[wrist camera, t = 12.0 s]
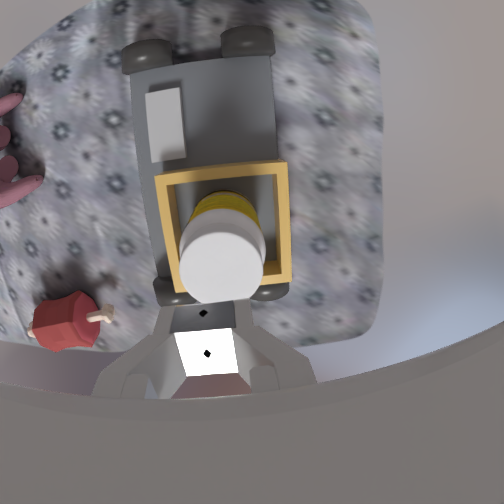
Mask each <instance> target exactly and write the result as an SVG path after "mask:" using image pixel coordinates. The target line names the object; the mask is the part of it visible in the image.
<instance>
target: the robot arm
mask: <svg viewBox="0 0 504 504" xmlns="http://www.w3.org/2000/svg"><path fill="white" fill-rule="evenodd" d="M229 372H238V374H239V375H240V376H241V377H242V378H243V379H244V380H245V381H246V382H247V383H248V384H249V385H250V386H251V392H252V394H243V395H233V396H221V397H207V398H188V399H170V398H171V397H172V396H173V394H174V393H175V392H176V391H177V389H178V388H179V387H180V386H181V384H182V383H183V382H184V380H185V379H186V378H187V376H189V375H202V374H213V373H229ZM0 504H504V321H503V322H501V323H499V324H497V325H495V326H493V327H491V328H489V329H487V330H484V331H482V332H480V333H478V334H476V335H473V336H471V337H469V338H466V339H464V340H461V341H459V342H456V343H454V344H451V345H449V346H447V347H444V348H441V349H438V350H436V351H433V352H430V353H427V354H425V355H421V356H419V357H416V358H413V359H410V360H407V361H403V362H400V363H397V364H393V365H390V366H387V367H383V368H380V369H376V370H373V371H369V372H365V373H361V374H357V375H353V376H349V377H345V378H340V379H336V380H331V381H327V382H322V383H317V381H316V378H315V375H314V373H313V370H312V367H311V364H310V362H309V359H308V358H307V357H306V356H304V355H302V354H301V353H299V352H298V351H296V350H295V349H293V348H292V347H290V346H289V345H287V344H286V343H284V342H282V341H281V340H279V339H278V338H276V337H275V336H273V335H272V334H270V333H269V332H267V331H266V330H264V329H263V328H261V327H260V326H254V323H253V317H252V311H251V305H250V299H249V298H244V299H237V300H230V301H223V302H215V303H207V304H205V303H202V304H189V305H177V306H176V305H173V306H163V307H161V309H160V312H159V315H158V318H157V322H156V325H155V328H154V332H153V335H148V336H147V337H145V338H144V339H143V340H141V341H140V342H139V343H137V344H136V345H135V346H134V347H132V348H131V349H130V350H128V351H127V352H126V353H125V354H123V355H122V356H121V357H119V358H118V359H117V360H115V361H114V362H113V363H111V364H110V365H109V366H108V367H106V368H105V369H104V370H102V371H101V372H100V374H99V377H98V379H97V382H96V384H95V387H94V390H93V392H92V395H91V396H85V395H76V394H68V393H60V392H53V391H47V390H40V389H35V388H29V387H24V386H19V385H14V384H10V383H5V382H1V381H0Z"/></svg>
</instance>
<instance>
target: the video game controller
mask: <svg viewBox="0 0 504 504" xmlns="http://www.w3.org/2000/svg"><path fill="white" fill-rule="evenodd" d="M22 99H23V95H22V94H21V93H12V94H9V95H6V96H4V97H2V98H0V118H1V117H2V116H3V115H5V114H6V113H7V112H9V111H10V110H12V109H13V108H14V107H16V106H17V105H18V104H19V103H20V102H21V101H22ZM10 136H11V135H10V130H9V129H8V128H7V127H6V126H2V125H0V151H1V150H3V149H4V148H5V147H6V146H7V144H8V143H9V141H10ZM17 171H18V162H17V160H16V159H15V158H14V157H13V156H11V155H7V156H5V157H3V158H2V159H1V160H0V209H1V208H4V207H6V206H9V205H11V204H13V203H15V202H17V201H18V200H20V199H21V198H23V197H24V196H26V195H27V194H29V193H30V192H32V191H34V190H35V189H36V188H38V187H39V186H40V185H41V184H42V182H43V176H41V175H32V176H28V177H25V178H23V179H20V180H18V181H15V182H11V181H12V179H13V178H14V176H15V175H16V173H17Z"/></svg>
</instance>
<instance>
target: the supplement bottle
mask: <svg viewBox="0 0 504 504" xmlns="http://www.w3.org/2000/svg"><path fill="white" fill-rule="evenodd" d="M179 252H180V262H179V275H180V279H181V281H182V284H183V286H184V287H185V289H186V290H187V292H188V293H189V294H190V295H191V296H192V297H193V298H195V299H196V300H198V301H200V302H201V303H205V304H207V303H215V302H223V301H230V300H237V299H244V298H250V297H251V296H252V295H253V294H254V293H255V291H256V290H257V289H258V287H259V285H260V283H261V280H262V277H263V264H264V261H265V255H266V246H265V241H264V237H263V233H262V230H261V227H260V224H259V220H258V217H257V213H256V210H255V208H254V206H253V204H252V203H251V201H250V200H249V199H248V198H247V197H246V196H244V195H243V194H241V193H239V192H237V191H234V190H229V189H221V190H216V191H213V192H210V193H208V194H207V195H205V196H204V197H203V198H202V199H201V200H200V201H199V202H198V204H197V205H196V207H195V209H194V211H193V213H192V215H191V217H190V219H189V221H188V223H187V225H186V227H185V229H184V231H183V233H182V236H181V240H180V246H179Z"/></svg>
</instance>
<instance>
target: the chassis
mask: <svg viewBox="0 0 504 504" xmlns="http://www.w3.org/2000/svg"><path fill="white" fill-rule="evenodd" d="M220 37H221V51H222V57H223V58H221V59H211V60H203V61H195V62H188V63H182V64H176V65H173V61H172V44H171V43H170V42H169V41H166V40H160V39H151V40H143V41H139V42H135V43H132V44H130V45H128V46H126V47H125V48H123V49H122V51H121V60H122V73H123V74H125V75H130V86H131V101H132V114H133V125H134V135H135V145H136V153H137V161H138V169H139V176H140V183H141V189H142V195H143V202H144V207H145V213H146V219H147V224H148V229H149V235H150V240H151V245H152V249H153V254H154V259H155V263H156V268H157V272H158V277H156V278H155V280H154V281H153V286H154V290H155V294H156V298H157V302H158V304H159V305H160V306H161V307H163V306H173V305H176V306H177V305H189V304H194V303H195V302H197V301H198V300H196V299H195V298H193V297H192V296H191V295H190V294H189V293H188V292H187V290H186V289H185V287H184V286H183V284H182V281H181V279H180V275H179V262H180V252H179V246H180V240H181V236H182V233H183V231H184V229H185V227H186V225H187V223H188V221H189V219H190V217H191V215H192V213H193V211H194V209H195V207H196V205H197V204H198V202H199V201H200V200H201V199H202V198H203V197H204V196H205V195H207V194H208V193H210V192H213V191H216V190H221V189H229V190H234V191H237V192H239V193H241V194H243V195H244V196H246V197H247V198H248V199H249V200H250V201H251V203H252V204H253V206H254V208H255V210H256V213H257V217H258V220H259V224H260V227H261V230H262V233H263V237H264V241H265V246H266V255H265V261H264V264H263V277H262V280H261V283H260V285H259V287H258V289H257V290H256V291H255V293H254V294H253V295H252V296H251V297H250V299H253V300H257V301H272V300H276V299H279V298H281V297H283V296H285V295H286V294H287V293H288V291H289V282H292V272H291V235H290V208H289V187H288V168H287V162H286V161H284V160H281V159H279V158H278V151H277V137H276V123H275V111H274V98H273V87H272V75H271V65H270V56H272V55H274V54H275V44H274V35H273V31H272V30H271V29H269V28H267V27H263V26H240V27H235V28H231V29H228V30H226V31H224V32H223V33H222V34H221V36H220Z"/></svg>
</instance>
